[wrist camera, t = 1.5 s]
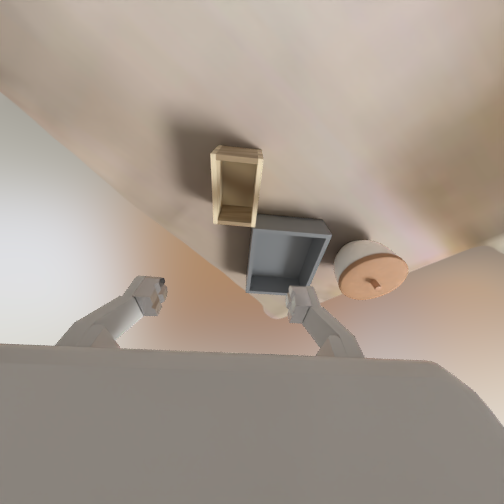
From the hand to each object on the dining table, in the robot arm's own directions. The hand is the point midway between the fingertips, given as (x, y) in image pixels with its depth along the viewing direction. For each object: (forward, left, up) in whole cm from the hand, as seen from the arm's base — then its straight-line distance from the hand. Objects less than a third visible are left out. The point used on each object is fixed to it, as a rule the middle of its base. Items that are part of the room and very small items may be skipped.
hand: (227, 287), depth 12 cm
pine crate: (0, -1, -21) cm, 21 cm away
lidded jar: (+12, +23, -21) cm, 34 cm away
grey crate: (+13, +8, -21) cm, 26 cm away
